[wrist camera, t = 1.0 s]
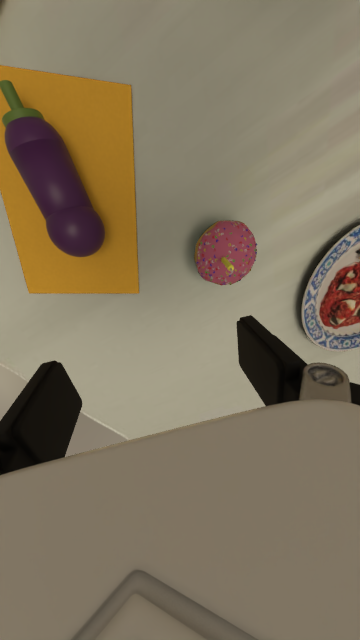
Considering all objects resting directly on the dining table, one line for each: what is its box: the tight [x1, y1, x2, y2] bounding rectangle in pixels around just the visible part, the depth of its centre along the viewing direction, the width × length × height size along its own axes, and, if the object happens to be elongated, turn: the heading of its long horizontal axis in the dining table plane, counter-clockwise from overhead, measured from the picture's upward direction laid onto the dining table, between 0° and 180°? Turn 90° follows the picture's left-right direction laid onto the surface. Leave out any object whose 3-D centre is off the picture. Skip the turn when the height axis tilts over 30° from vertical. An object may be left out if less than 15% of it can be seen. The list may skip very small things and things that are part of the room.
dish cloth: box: [0, 65, 139, 293], centre depth 27 cm, size 24×16×1 cm, turn 177°
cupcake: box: [194, 220, 257, 285], centre depth 27 cm, size 9×8×12 cm
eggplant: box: [0, 80, 105, 257], centre depth 23 cm, size 16×6×6 cm, turn 17°
